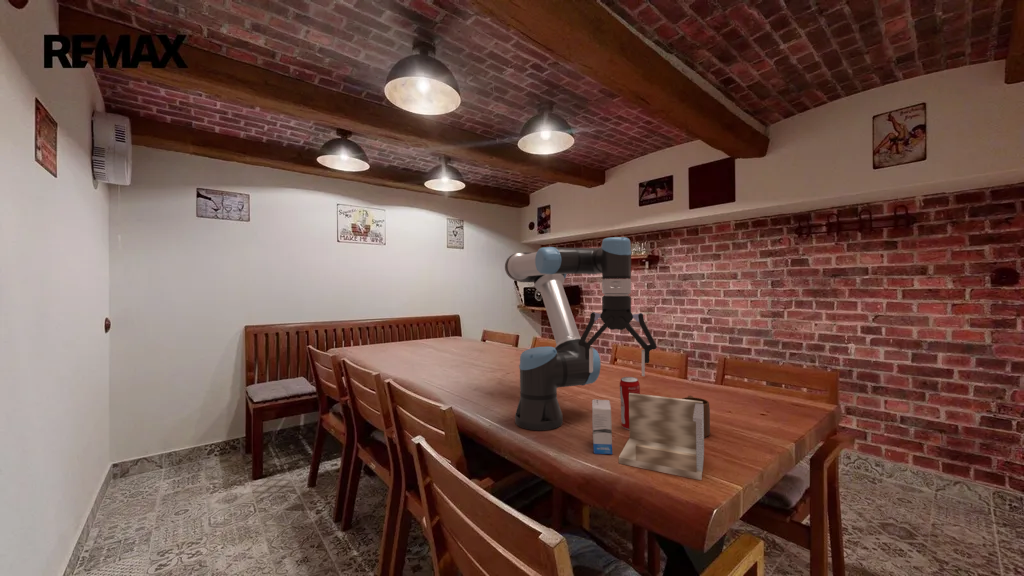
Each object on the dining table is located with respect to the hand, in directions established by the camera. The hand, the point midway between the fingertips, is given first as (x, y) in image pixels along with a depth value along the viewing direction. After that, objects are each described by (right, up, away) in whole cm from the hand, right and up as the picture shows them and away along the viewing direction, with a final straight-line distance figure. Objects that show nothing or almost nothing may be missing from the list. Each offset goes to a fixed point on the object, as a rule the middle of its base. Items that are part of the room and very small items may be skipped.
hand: (616, 373), depth 103 cm
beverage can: (+8, -20, +12) cm, 24 cm away
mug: (+26, -19, +10) cm, 33 cm away
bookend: (+16, -18, -13) cm, 27 cm away
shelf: (+9, -19, -9) cm, 23 cm away
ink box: (-4, -20, -2) cm, 20 cm away
